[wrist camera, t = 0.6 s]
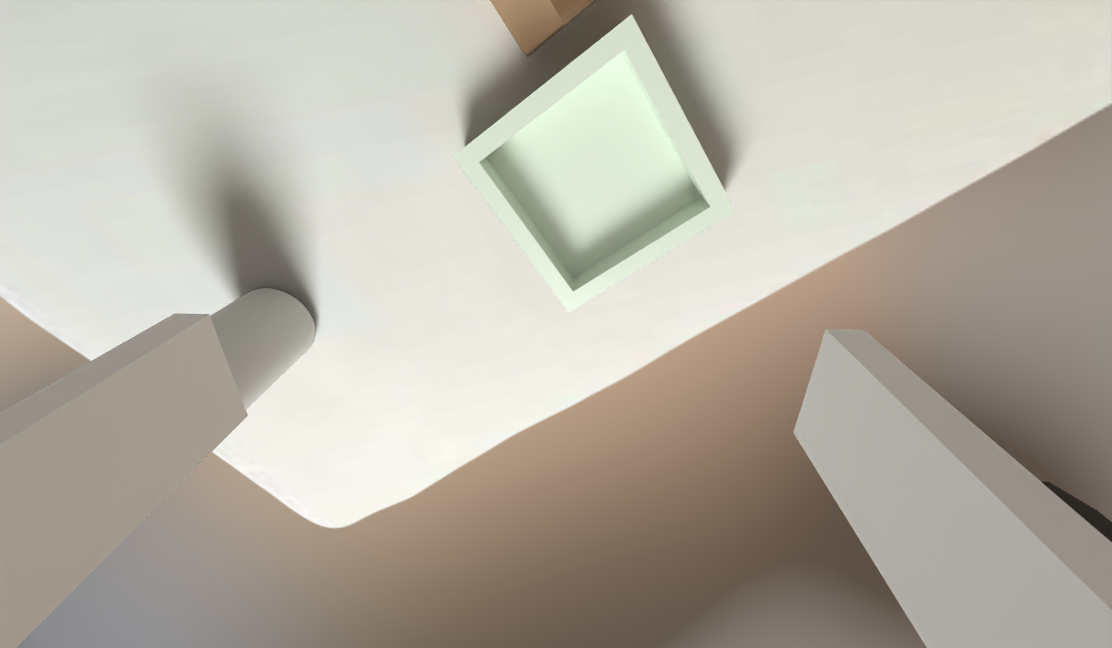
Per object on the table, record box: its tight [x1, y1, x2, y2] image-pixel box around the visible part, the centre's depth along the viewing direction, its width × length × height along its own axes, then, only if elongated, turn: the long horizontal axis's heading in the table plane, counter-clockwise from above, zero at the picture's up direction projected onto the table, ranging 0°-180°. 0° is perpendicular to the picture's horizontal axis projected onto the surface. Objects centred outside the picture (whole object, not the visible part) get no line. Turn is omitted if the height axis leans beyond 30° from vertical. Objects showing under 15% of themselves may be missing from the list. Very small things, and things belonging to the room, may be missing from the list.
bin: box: [452, 14, 736, 313], centre depth 31 cm, size 13×13×4 cm
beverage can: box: [210, 288, 316, 410], centre depth 34 cm, size 6×6×12 cm
